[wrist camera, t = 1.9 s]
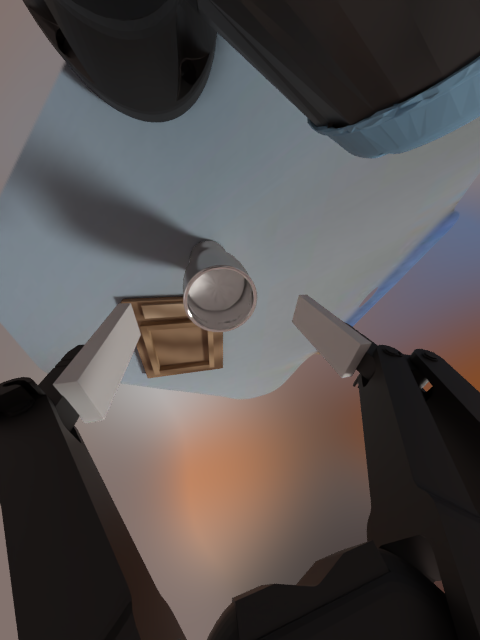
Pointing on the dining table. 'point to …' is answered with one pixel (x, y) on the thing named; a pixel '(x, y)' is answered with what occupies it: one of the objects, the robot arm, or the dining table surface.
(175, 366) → the tray
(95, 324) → the dining table surface
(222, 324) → the beer glass
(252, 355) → the dining table surface
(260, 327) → the dining table surface
